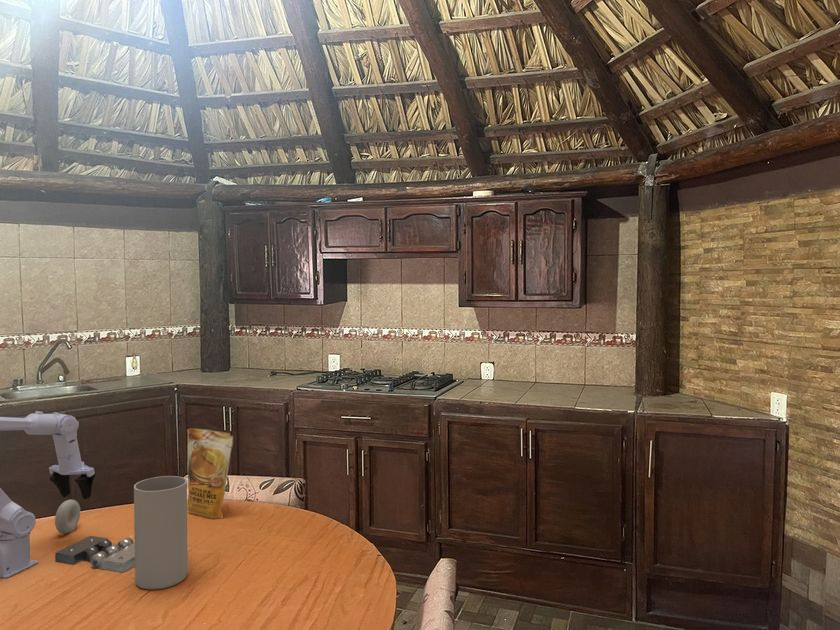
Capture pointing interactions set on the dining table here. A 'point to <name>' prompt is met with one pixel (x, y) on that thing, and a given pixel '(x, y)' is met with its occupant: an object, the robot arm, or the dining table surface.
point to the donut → (67, 516)
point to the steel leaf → (116, 557)
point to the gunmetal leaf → (82, 550)
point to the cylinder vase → (160, 532)
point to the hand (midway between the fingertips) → (76, 496)
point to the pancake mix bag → (207, 471)
